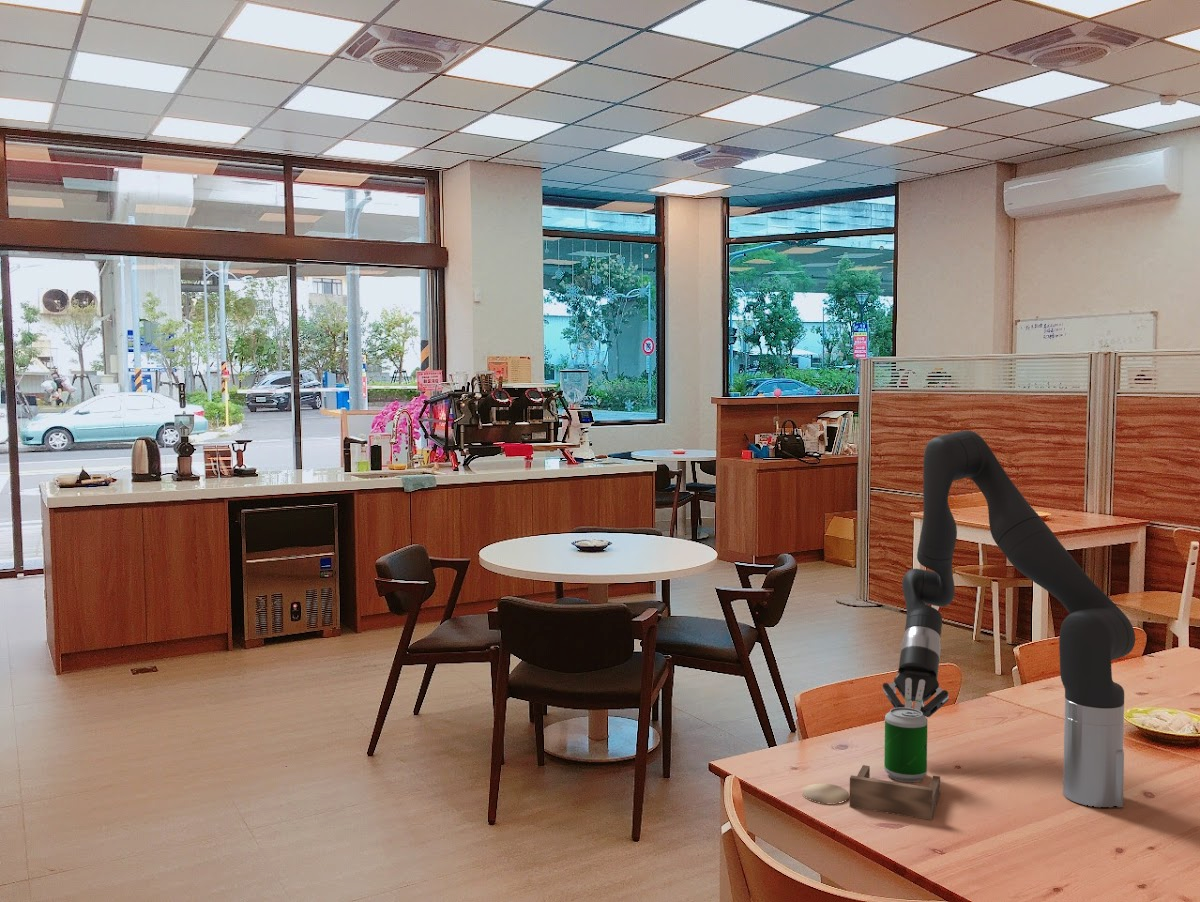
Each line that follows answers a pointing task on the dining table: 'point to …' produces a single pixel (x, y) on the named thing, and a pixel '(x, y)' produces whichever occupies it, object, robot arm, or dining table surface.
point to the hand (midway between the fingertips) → (910, 732)
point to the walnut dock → (894, 795)
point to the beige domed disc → (825, 793)
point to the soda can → (905, 744)
